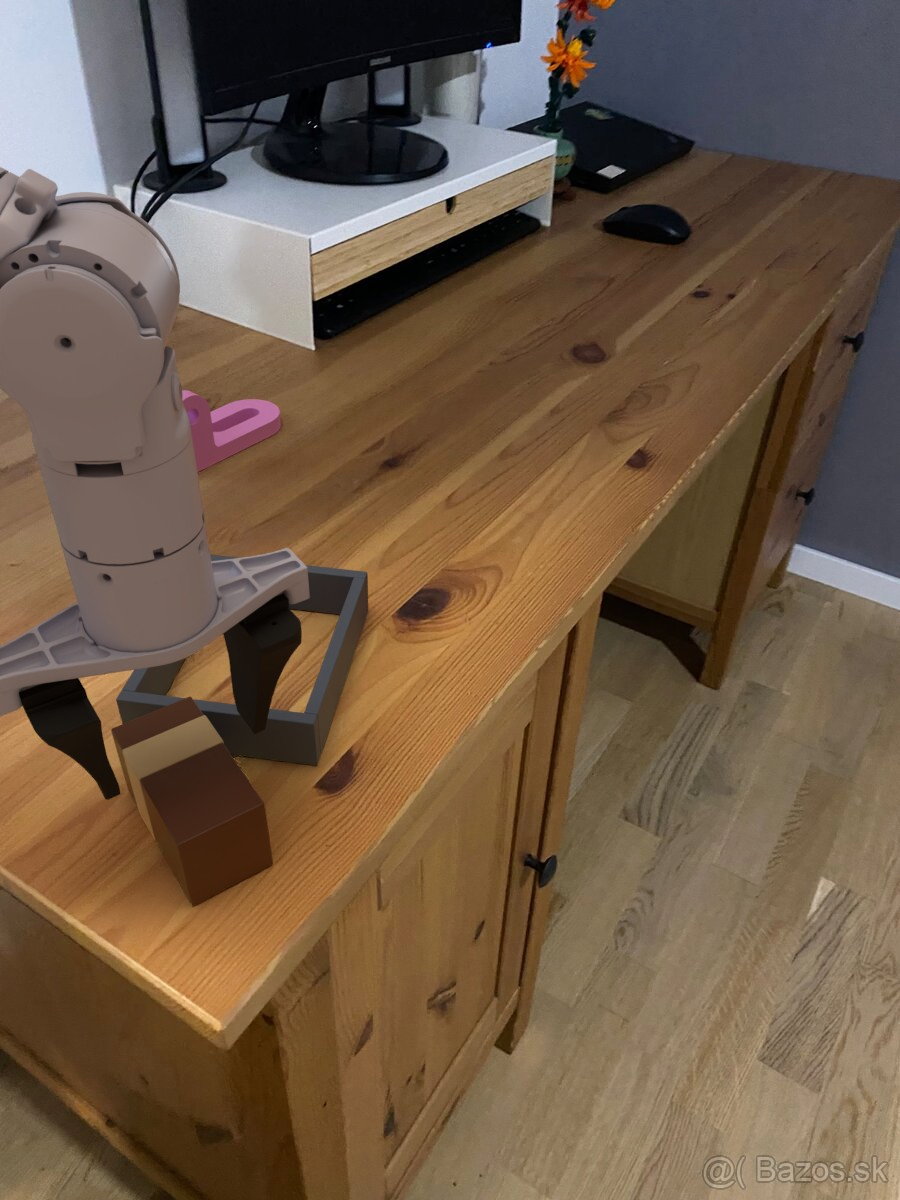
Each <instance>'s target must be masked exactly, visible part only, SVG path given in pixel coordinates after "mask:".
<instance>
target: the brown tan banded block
mask: <svg viewBox="0 0 900 1200" xmlns="http://www.w3.org/2000/svg"><path fill="white" fill-rule="evenodd" d="M184 698H185V699H183V700H180V701H178V702H175V703H173V704H170V705H168V706H165V707H163V708H161V709H158V710H156V711H153V712H151V713H148V714H146V715H144V716H141V717H139V718H136V719H134V720H131V721H129V722H127V723H124V724H120V725H119V724H118V725H117V726H115V727H112V728H111V730H110V732H111V735H112V738H113V741H114V742H113V743H114V746H115V749H116V752H117V757H118V760H119V764H120V768H121V770H122V774H123V778H124V783H125V785H126V789H127V791H128V793H129V795H130V796H131V798H132V800H133V802H134V804H135V805H136V807H137V810H138V813H139V815H140V817H141V819H142V821H143V822H144V824H145V826H146V828H147V830H148V832H149V833H150V835H151V837H152V838H153V840H154V841H155V842H156V844H157V846H158V848H159V849H160V851H161V852H162V855H163V856H164V858H165V860H166V862H167V864H168V865H169V867H170V870H171V871H172V872H173V875H174V876H175V878H176V880H177V881H178V883H179V885H180V887H181V888H182V891H183V893H184V894H185V896H186V898H187V899H188V901H189V903H190V905H191V906H192V907H195V906H197V905H198V904H201V903H202V902H204V901H206V900H207V899H209V898H212V897H213V896H215V895H217V894H219V893H221V892H223V891H226V889H228V888H230V887H232V886H234V885H236V884H239V883H240V882H242V881H244V880H245V879H247V878H250V877H251V876H253V875H255V874H257V873H259V872H261V871H263V870H264V869H266V868H268V867H271V866H272V865H273V863H274V861H273V854H272V847H271V840H270V831H269V825H268V819H267V811H266V805H265V801H264V800H263V799H262V797H261V795H260V794H259V793H258V791H257V790H256V788H255V787H254V786H253V784H252V783H251V781H250V780H249V778H248V777H247V775H246V774H245V773H244V771H243V769H242V768H241V767H240V765H239V763H238V761H236V760H235V758H234V757H233V755H231V754H230V752H229V751H228V749H227V748H226V746H225V745H224V741H223V740H222V738H221V737H220V736H219V734H218V733H217V731H216V730H215V728H214V727H213V725H212V724H211V723H210V721H209V720H208V718H207V717H206V716H205V715H204V714H203V713H202V712H201V710H200V709H199V707H198V706H197V704H196V703H195V701H194V700H193V699H194V698H193V697H192V696H187V697H184Z"/></svg>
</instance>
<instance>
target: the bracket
mask: <svg viewBox="0 0 900 1200" xmlns="http://www.w3.org/2000/svg"><path fill="white" fill-rule="evenodd" d="M182 393H183V398H182V400H183V405H184V407H185V410H186V412H187V414H188V417H189V421H190V427H191V434H192V441H193V447H194V454H195V460H196V466H197V473H199V472H202V471H203V470H205V469H208V468H209V467H211V466H214V465H215V464H218V463H220V462H221V461H223V460H226V459H227V458H229V457H232V456H233V455H235V454H238V453H240V452H242V451H244V450H246V449H248V448H250V447H252V446H254V445H256V444H258V443H260V442H262V441H264V440H267V439H268V438H270V437H272V436H274V435H275V434H277V433H278V432H279V431H280V429H281V428H282V420H281V411H280V407H278V405H276V404H275V403H273V402H272V401H267V400H264V399H257V398H249V399H248V398H247V399H246V398H245V399H240V400H235V401H231V402H229V403H227V404H225V405H223V406H220V407H218V408H216V409H214V410H211V407H210V405H209V402H208V401H207V399H206V398H205V397H204V396H201V395H200V394H197V393H194V392H193V391H190V390H187V389H182Z"/></svg>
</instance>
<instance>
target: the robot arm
mask: <svg viewBox="0 0 900 1200" xmlns="http://www.w3.org/2000/svg"><path fill="white" fill-rule="evenodd" d="M58 189H59V188H58V185H57V182H55V181H54V180H52V179H50V178H48V177H47V176H44V175H43V174H41V173H39V172H37V171H35V170H34V169H31V168H28V169H26V170H25V171H24V172H23V173H21V175H20V176H19V175H17V174H15V173H13V172H9V170H8V169H5V168H3V167H2V166H0V390H1V391H3V392H4V393H5V394H6V395H7V396H8V397H9V398H11V399H12V400H13V401H14V402H15V403H17V404H18V405H19V406H20V407H21V408H22V409H23V410H24V412H25V414H26V418H27V423H28V425H29V430H30V432H31V441H32V444H33V448H34V451H35V455H36V459H37V462H38V466H39V469H40V470H39V471H40V474H41V476H42V480H43V485H44V487H45V491H46V494H47V499H48V501H49V505H50V509H51V513H52V517H53V520H54V523H55V527H56V530H57V534H58V538H59V542H60V545H61V549H62V552H63V556H64V560H65V562H66V566H67V570H68V574H69V577H70V581H71V585H72V588H73V592H74V595H75V598H76V599H75V600H76V601H75V602H73V603H71V604H70V605H68V606H66V607H65V608H63V609H62V610H60V611H58V612H56V613H55V614H53V615H52V616H49V617H48V618H47V619H45V620H43V621H40V623H38V624H36V625H35V626H33V627H31V628H30V629H28V630H27V631H25V632H22V633H21V634H20V635H18V636H16V637H15V638H12V639H11V640H9V641H7V642H5V643H3V644H1V645H0V717H3V716H6V715H8V714H10V713H14V712H16V711H18V710H20V709H21V708H23V710H24V713H25V715H26V717H27V718H28V720H29V722H30V725H31V727H32V729H33V730H34V732H35V734H36V735H37V737H39V738H40V739H41V740H42V741H43V742H44V743H45V744H46V745H47V746H49V747H51V748H53V749H56V750H58V751H59V752H62V753H63V754H65V755H66V756H68V757H69V758H71V759H72V761H75V762H76V763H77V764H78V765H79V766H80V767H82V768H83V769H84V770H85V771H86V772H87V773H88V774H89V775H90V777H91V778H92V779H93V780H94V782H95V783H96V784H97V786H98V788H99V791H100V792H101V794H102V796H103V798H104V800H107V801H108V800H111V799H114V798H116V797H118V796H120V795H121V794H122V793H121V789H120V783H119V782H118V780H117V777H116V774H115V772H114V770H113V768H112V766H111V763H110V760H109V758H108V755H107V750H106V745H105V741H104V735H103V729H102V721H101V718H100V717H99V715H98V713H97V712H96V710H95V708H94V706H93V704H92V703H91V701H90V699H89V697H88V694H87V690H86V688H85V687H84V685H83V683H82V682H81V680H80V679H82V678H88V677H95V676H102V675H109V674H115V673H121V672H122V673H123V672H128V671H129V672H130V671H134V670H136V669H142V668H149V667H156V666H161V665H166V664H169V663H173V662H176V661H179V660H181V659H184V658H185V659H186V658H188V657H190V656H192V655H194V654H196V653H198V652H199V651H201V650H203V648H205V647H206V646H208V645H209V644H211V643H212V642H213V641H215V640H217V639H218V638H219V637H220V636H222V635H223V639H224V643H225V647H226V651H227V656H228V662H229V670H230V672H229V673H230V679H231V689H232V696H233V699H234V703H235V704H236V707H237V711H238V713H239V714H240V715H241V717H242V718H243V719H244V721H245V722H246V723H247V725H248V726H249V728H250V729H251V730H252V732H253V733H254V734H256V733H259V732H261V731H263V730H265V728H266V724H267V719H268V714H269V709H271V705H272V700H273V698H274V697H273V696H274V694H275V691H276V687H277V684H278V682H279V680H280V677H281V675H282V673H283V671H284V669H285V667H286V665H287V663H288V662H289V660H290V658H291V657H292V655H293V654H294V653H295V651H296V650H297V649H298V648H299V647H300V645H301V644H302V639H303V637H302V636H303V632H302V631H303V629H302V622H301V620H300V619H299V618H298V616H296V615H295V613H294V611H292V609H289V604H296V603H299V602H301V601H304V600H306V599H309V598H310V594H309V581H308V568H307V566H306V565H307V564H305V563H304V562H303V561H302V560H301V559H300V557H298V556H297V555H296V554H295V552H293V551H292V550H291V549H290V548H289V547H284V548H281V549H278V550H275V551H272V552H267V553H262V554H257V555H250V556H243V557H238V558H235V559H227V560H219V561H211V556H210V555H211V551H210V550H211V549H210V543H209V537H208V530H207V524H206V518H205V511H204V505H203V499H202V492H201V486H200V485H201V484H200V479H199V472H197V466H196V460H195V454H194V447H193V441H192V434H191V427H190V421H189V417H188V413H187V412H186V410H185V407H184V405H183V400H182V398H183V393H182V390H183V385H182V382H181V379H180V375H179V371H178V369H179V368H178V364H177V358H176V352H175V349H174V348H172V347H171V346H167V344H168V341H169V338H170V335H171V334H172V330H173V327H174V325H175V322H176V319H177V315H178V311H179V308H180V307H179V306H180V293H181V285H180V284H181V283H180V282H181V281H180V274H179V271H178V266H177V264H176V261H175V258H174V256H173V254H172V252H171V250H170V249H169V247H168V245H167V243H166V242H165V240H164V239H163V238H162V237H161V235H160V234H159V233H158V232H157V230H155V228H153V227H152V226H151V225H150V224H149V223H148V222H147V221H146V220H144V219H143V218H142V217H141V216H139V215H137V214H136V213H134V212H133V211H131V210H130V209H129V208H128V206H126V204H125V203H124V202H123V201H122V200H121V199H120V198H117V197H115V196H112V195H109V194H105V193H100V192H90V191H79V192H78V191H77V192H71V193H66V194H62V195H57V193H58Z"/></svg>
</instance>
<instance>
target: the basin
mask: <svg viewBox="0 0 900 1200" xmlns="http://www.w3.org/2000/svg"><path fill="white" fill-rule="evenodd" d="M210 556H211V561H219V560H227V559H235V558H239V557H236V556H228V555H220V554H219V555H218V554H210ZM305 565H306V566H307V568H308V581H309V594H310V598H309V599H306V600H304V601H301V602H299V603H296V604H289V609H290V610H296V611H297V610H299V611H305V612H306V611H307V612H314V613H315V612H316V613H324V614H332V615H339V617H338V620H337V622H336V625H335V628H334V630H333V633H332V636H331V638H330V642H329V644H328V647H327V650H326V652H325V655H324V658H323V660H322V663H321V666H320V668H319V671H318V673H317V676H316V679H315V682H314V685H313V688H312V690H311V692H310V696H309V698H308V701H307V704H306V706H305V708H304V711H303V712H300V711H299V712H298V711H290V710H283V709H275V708H270V709H269V714H268V719H267V724H266V728H265V730H263V731H261V732H259V733H256V734H254V733H253V732H252V730H251V729H250V728H249V726H248V725H247V723H246V722H245V721H244V719H243V718H242V717H241V715H240V714H239V713H238V711H237V707H236V704H234V703H227V702H220V701H219V702H218V701H210V700H203V699H195V698H192V699H193V700H194V701H195V703H196V704H197V706H198V707H199V709H200V710H201V712H202V713H203V714H204V715H205V716H206V717H207V718H208V720H209V721H210V723H211V724H212V725H213V727H214V728H215V730H216V731H217V733H218V734H219V736H220V737H221V738H222V740H223V741H224V745H225V746H226V748H227V749H228V751H229V752H230V754H231V755H232V756H238V757H239V756H240V757H247V758H253V759H255V758H256V759H263V760H269V761H270V760H271V761H278V762H279V761H280V762H285V763H294V764H301V765H302V764H303V765H308V766H309V765H311V766H318V765H319V762H320V759H321V755H322V754H323V750H324V748H325V744H326V741H327V738H328V734H329V732H330V729H331V727H332V723H333V720H334V717H335V713H336V710H337V708H338V705H339V702H340V698H341V695H342V692H343V689H344V687H345V683H346V680H347V677H348V674H349V671H350V669H351V665H352V662H353V660H354V656H355V653H356V650H357V647H358V644H359V641H360V638H361V635H362V632H363V629H364V627H365V623H366V620H367V617H368V615H369V577H368V575H369V573H368V571H363V570H354V569H345V568H337V567H326V566H317V565H309V564H305ZM185 660H186V658H184V659H181V660H179V661H176V662H173V663H169V664H166V665H161V666H156V667H149V668H142V669H136V670H132V672H131V674H130V676H129V677H128V679H127V680H126V682H125V684H124V685H123V687H122V690H120V691H119V693H118V695H117V697H116V698H115V701H116V705H117V709H118V712H119V716H120V720H121V723H122V724H124V723H127V722H129V721H131V720H134V719H136V718H139V717H141V716H144V715H146V714H148V713H151V712H153V711H156V710H158V709H161V708H163V707H165V706H168V705H170V704H173V703H175V702H178V701H180V700H183V699H185V698H186V697H181V696H180V697H178V696H177V697H176V696H172V695H171V696H170V695H167V693H168V691H169V689H170V687H171V686H172V684H173V682H174V680H175V678H176V677H177V675H178V673H179V672H180V669H181V667H182V665H183V664H184V662H185ZM122 724H121V725H122Z"/></svg>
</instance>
